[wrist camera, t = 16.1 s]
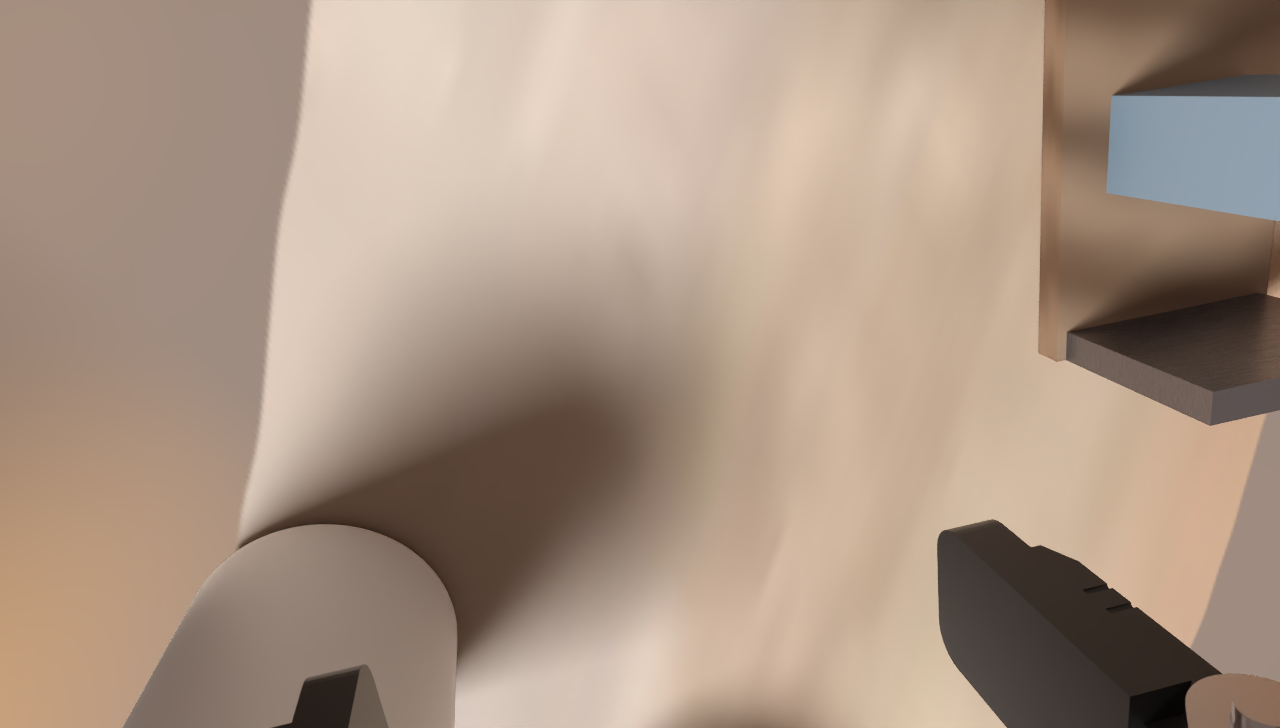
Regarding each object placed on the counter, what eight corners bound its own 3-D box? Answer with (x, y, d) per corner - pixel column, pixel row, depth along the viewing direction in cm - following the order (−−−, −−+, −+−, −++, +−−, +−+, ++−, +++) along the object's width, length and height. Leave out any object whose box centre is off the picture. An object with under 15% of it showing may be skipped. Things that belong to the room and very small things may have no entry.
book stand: (1047, -92, 37) (1069, -98, 36) (1284, -123, 39) (1314, -131, 37) (1038, 353, 44) (1056, 361, 43) (1239, 311, 46) (1263, 318, 44)
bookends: (1080, -100, 36) (1264, -158, 27) (1304, -130, 37) (1545, -194, 29) (1065, 359, 43) (1210, 425, 34) (1255, 320, 44) (1438, 374, 36)
